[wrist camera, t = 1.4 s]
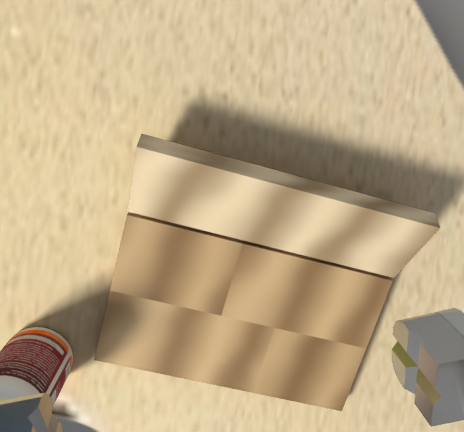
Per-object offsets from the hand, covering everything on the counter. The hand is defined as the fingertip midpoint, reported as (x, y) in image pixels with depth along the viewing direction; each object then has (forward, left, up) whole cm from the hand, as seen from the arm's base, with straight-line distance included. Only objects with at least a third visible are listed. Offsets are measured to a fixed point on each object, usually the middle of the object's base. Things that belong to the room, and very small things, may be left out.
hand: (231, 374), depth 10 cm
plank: (-6, +1, -26) cm, 27 cm away
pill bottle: (+11, +21, -29) cm, 37 cm away
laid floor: (-6, +12, -29) cm, 32 cm away
